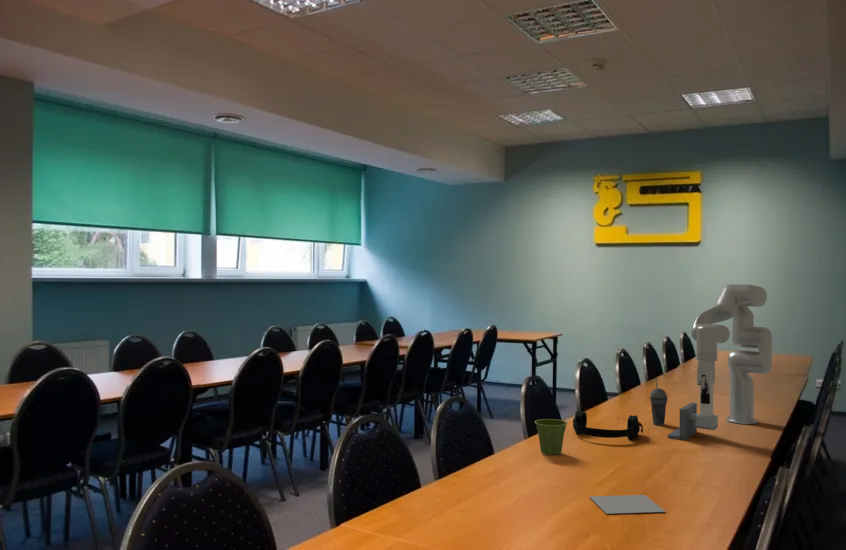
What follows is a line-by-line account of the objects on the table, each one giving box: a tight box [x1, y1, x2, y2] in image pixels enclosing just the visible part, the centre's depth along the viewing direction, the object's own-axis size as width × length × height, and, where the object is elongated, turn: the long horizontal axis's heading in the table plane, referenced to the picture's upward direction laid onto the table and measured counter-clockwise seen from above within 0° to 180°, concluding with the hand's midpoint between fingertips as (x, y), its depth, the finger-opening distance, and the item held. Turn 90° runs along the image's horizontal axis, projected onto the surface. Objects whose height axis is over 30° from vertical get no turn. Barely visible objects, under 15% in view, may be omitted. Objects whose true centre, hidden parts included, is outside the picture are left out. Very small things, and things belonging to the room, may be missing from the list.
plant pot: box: [534, 418, 568, 456], centre depth 241 cm, size 12×12×11 cm
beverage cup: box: [649, 378, 669, 426], centre depth 289 cm, size 7×7×20 cm
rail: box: [699, 382, 714, 417], centre depth 264 cm, size 4×4×14 cm
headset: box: [572, 410, 644, 441], centre depth 267 cm, size 28×26×9 cm
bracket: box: [667, 402, 719, 441], centre depth 266 cm, size 18×16×12 cm
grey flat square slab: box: [588, 494, 667, 515], centre depth 190 cm, size 23×25×1 cm
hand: (706, 402), depth 264 cm, fingers closed on rail, 4 cm apart
